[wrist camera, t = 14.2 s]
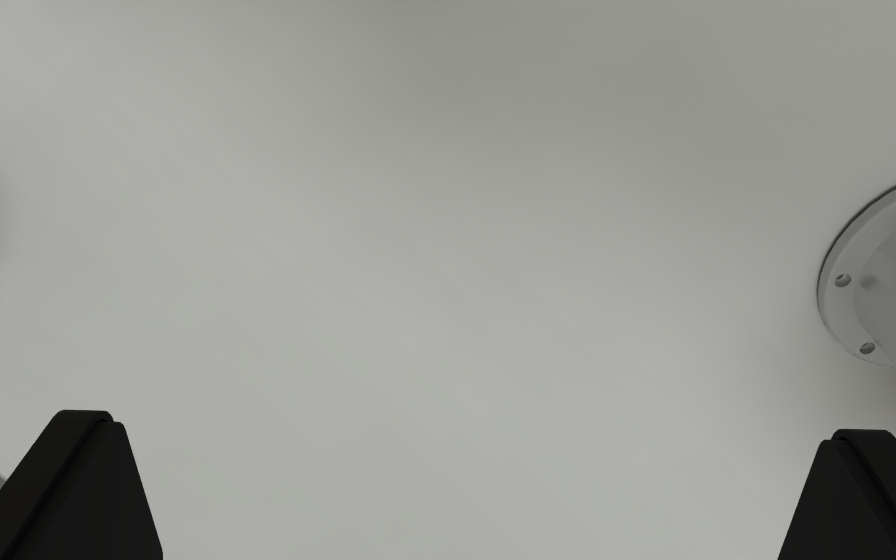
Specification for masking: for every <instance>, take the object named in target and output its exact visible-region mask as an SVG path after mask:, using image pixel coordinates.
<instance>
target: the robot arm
mask: <svg viewBox="0 0 896 560" xmlns="http://www.w3.org/2000/svg"><path fill="white" fill-rule="evenodd" d="M818 302H819V311H820V313H821V316H822V318H823V321H824V323H825V325H826V327H827V328H828V329H829V331H830V332H831V334H832V335H833V337H834V338H835V339H836V340H837V341H838V342H839V343H840V344H841V345H842V346H843V347H844V348H845V349H846V350H847V351H848V352H850V353H851V354H853V355H855V356H856V357H858V358H860V359H863V360H866V361H869V362H872V363H875V364H879V365H886V366H893V367H896V189H895V190H893V191H892V192H890V193H889V194H887V195H886V196H884V197H883V198H881V199H880V200H878V201H877V202H875V203H874V204H872V205H871V206H870V207H869V208H868V209H866V210H865V211H864V212H863V213H862V214H861V215H860V216H859V217H858V218H856V219H855V220H854V221H853V222H852V223H851V224H850V226H849V227H848V228H847V229H846V230H845V232H844V233H843V234H842V235H841V236H840V238H839V239H838V240H837V242H836V243H835V245H834V247H833V249H832V250H831V252H830V254H829V255H828V257H827V259H826V262H825V264H824V267H823V270H822V273H821V276H820V281H819V288H818ZM0 560H163V552H162V547H161V544H160V541H159V538H158V534H157V531H156V528H155V525H154V521H153V518H152V515H151V511H150V508H149V505H148V502H147V498H146V495H145V492H144V489H143V485H142V482H141V479H140V476H139V472H138V469H137V466H136V462H135V459H134V456H133V453H132V449H131V446H130V443H129V440H128V436H127V433H126V430H125V427H124V425H123V424H122V423H121V422H114V420H113V418H112V416H111V414H109V413H108V412H107V411H94V410H62V411H60V412H58V413H57V414H56V415H55V416H54V417H53V418H52V419H51V421H50V422H49V424H48V425H47V426H46V428H45V429H44V430H43V432H42V433H41V434H40V436H39V437H38V439H37V440H36V441H35V443H34V444H33V445H32V447H31V448H30V450H29V451H28V452H27V454H26V455H25V456H24V458H23V459H22V461H21V462H20V463H19V465H18V466H17V467H16V469H15V470H14V472H13V473H12V474H11V476H10V477H9V478H8V480H7V481H6V482H5V484H4V485H3V487H2V488H1V490H0ZM777 560H896V438H895V437H894V436H893V435H892V434H891V433H890V432H888V431H886V430H864V429H839V430H837V431H836V432H835V433H834V434H833V436H832V438H831V440H823V441H822V442H821V443H820V445H819V447H818V450H817V453H816V455H815V458H814V461H813V464H812V466H811V469H810V472H809V475H808V477H807V480H806V483H805V485H804V488H803V491H802V494H801V496H800V499H799V502H798V505H797V507H796V510H795V513H794V516H793V518H792V521H791V524H790V527H789V529H788V532H787V535H786V537H785V540H784V543H783V546H782V548H781V551H780V554H779V557H778V559H777Z"/></svg>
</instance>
